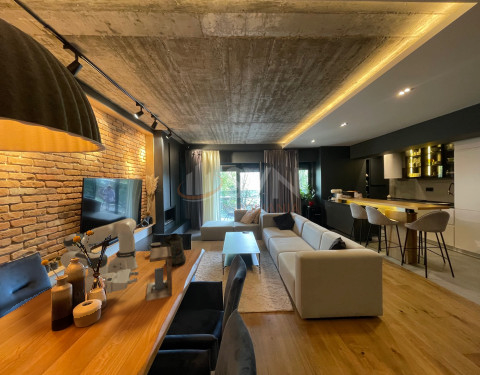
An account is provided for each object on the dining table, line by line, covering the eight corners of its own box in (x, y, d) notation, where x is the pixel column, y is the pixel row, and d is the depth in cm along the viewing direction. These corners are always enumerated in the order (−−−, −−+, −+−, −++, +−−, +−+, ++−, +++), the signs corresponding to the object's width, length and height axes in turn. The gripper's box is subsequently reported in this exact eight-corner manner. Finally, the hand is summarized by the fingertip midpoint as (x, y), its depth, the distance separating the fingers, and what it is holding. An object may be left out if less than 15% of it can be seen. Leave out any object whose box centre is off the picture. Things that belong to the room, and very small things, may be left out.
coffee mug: (163, 253, 194) (162, 243, 194) (155, 256, 186) (155, 245, 186) (154, 251, 199) (154, 241, 199) (146, 254, 191) (146, 244, 191)
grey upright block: (154, 291, 123) (154, 271, 123) (154, 287, 128) (154, 268, 128) (163, 289, 125) (163, 270, 125) (163, 285, 130) (163, 267, 130)
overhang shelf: (146, 300, 115) (145, 259, 114) (147, 284, 133) (147, 248, 133) (172, 295, 120) (171, 255, 120) (170, 280, 139) (169, 246, 138)
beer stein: (189, 260, 176) (189, 232, 176) (177, 269, 157) (176, 237, 157) (172, 258, 180) (172, 231, 180) (158, 267, 161) (158, 236, 161)
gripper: (114, 278, 126) (139, 274, 131) (107, 295, 107) (136, 289, 112) (114, 268, 126) (139, 264, 131) (106, 283, 107) (136, 278, 112)
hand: (137, 276), depth 122 cm, fingers open, 8 cm apart
